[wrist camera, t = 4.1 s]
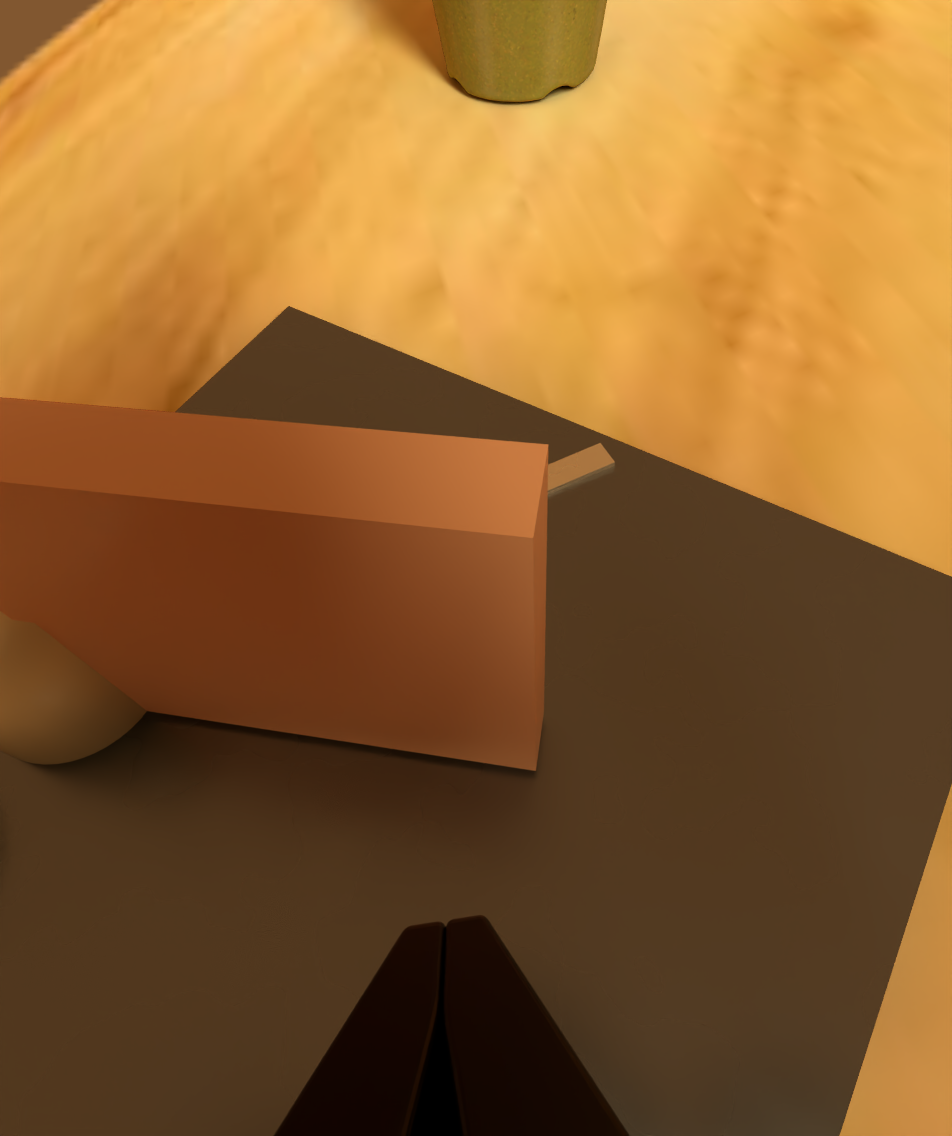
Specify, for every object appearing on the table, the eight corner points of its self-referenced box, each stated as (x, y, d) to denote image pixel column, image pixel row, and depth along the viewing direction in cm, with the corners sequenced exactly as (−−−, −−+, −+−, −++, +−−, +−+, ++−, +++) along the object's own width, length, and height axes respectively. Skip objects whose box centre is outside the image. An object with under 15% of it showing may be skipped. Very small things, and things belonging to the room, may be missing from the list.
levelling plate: (985, 622, 16) (1041, 572, 14) (525, 2007, 8) (522, 2291, 6) (298, 332, 23) (277, 273, 21) (-332, 939, 15) (-455, 927, 13)
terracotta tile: (-55, 748, 15) (-538, 528, 8) (37, 582, 17) (-293, 294, 10) (525, 847, 13) (511, 668, 7) (552, 647, 15) (563, 351, 9)
